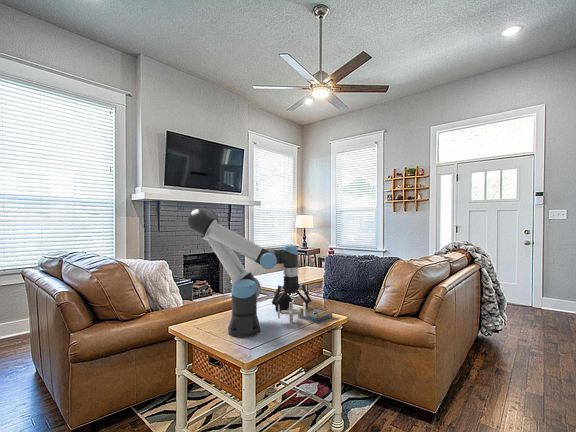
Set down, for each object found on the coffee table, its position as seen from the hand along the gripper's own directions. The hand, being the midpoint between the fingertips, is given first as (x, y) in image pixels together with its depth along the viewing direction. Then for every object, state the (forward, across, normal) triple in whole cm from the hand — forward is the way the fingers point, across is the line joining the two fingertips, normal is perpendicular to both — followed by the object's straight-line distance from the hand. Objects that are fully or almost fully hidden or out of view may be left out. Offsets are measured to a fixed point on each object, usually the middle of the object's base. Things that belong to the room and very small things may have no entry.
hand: (291, 316), depth 162 cm
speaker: (+3, -1, +21) cm, 21 cm away
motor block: (+3, +14, +5) cm, 15 cm away
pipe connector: (+3, 0, 0) cm, 3 cm away
